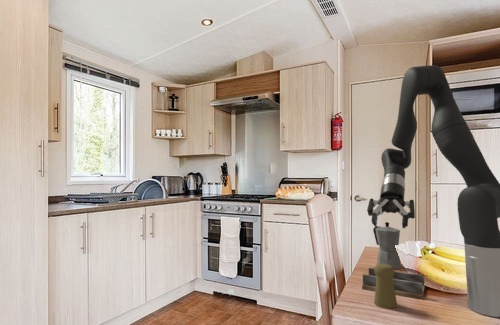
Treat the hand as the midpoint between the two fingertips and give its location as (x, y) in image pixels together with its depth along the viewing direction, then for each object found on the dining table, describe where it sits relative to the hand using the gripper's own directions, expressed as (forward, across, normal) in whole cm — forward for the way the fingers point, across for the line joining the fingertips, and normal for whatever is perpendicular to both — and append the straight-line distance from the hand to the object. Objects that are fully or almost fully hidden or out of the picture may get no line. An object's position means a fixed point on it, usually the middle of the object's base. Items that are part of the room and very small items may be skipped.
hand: (388, 225), depth 96 cm
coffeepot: (-7, -6, +37) cm, 38 cm away
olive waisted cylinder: (+23, 0, +6) cm, 24 cm away
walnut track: (+12, 0, +17) cm, 21 cm away
